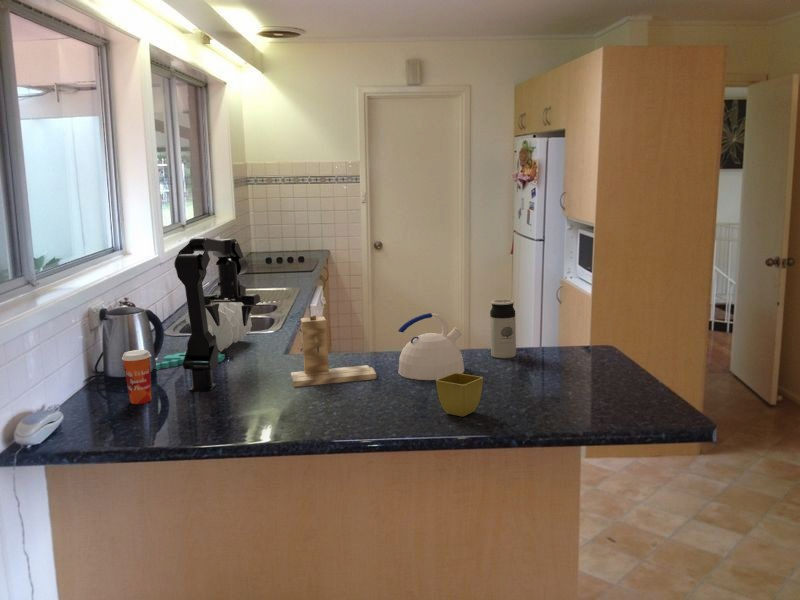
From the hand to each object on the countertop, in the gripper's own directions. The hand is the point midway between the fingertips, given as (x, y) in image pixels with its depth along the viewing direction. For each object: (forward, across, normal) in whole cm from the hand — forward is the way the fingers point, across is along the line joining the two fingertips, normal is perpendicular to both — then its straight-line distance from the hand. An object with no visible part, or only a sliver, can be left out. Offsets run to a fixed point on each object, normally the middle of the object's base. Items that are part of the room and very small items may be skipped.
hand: (231, 326), depth 238 cm
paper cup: (+14, +12, +37) cm, 41 cm away
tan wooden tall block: (+13, -33, +15) cm, 39 cm away
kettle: (+14, -65, +2) cm, 67 cm away
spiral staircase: (+13, +17, -27) cm, 34 cm away
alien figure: (+14, +18, -6) cm, 23 cm away
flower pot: (+15, -79, +40) cm, 90 cm away
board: (+14, -37, +12) cm, 41 cm away
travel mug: (+13, -86, -17) cm, 88 cm away
